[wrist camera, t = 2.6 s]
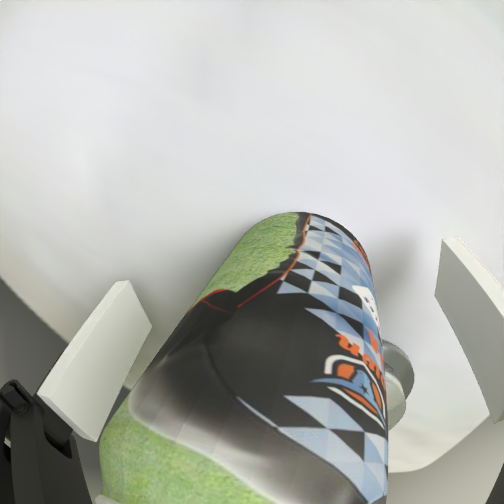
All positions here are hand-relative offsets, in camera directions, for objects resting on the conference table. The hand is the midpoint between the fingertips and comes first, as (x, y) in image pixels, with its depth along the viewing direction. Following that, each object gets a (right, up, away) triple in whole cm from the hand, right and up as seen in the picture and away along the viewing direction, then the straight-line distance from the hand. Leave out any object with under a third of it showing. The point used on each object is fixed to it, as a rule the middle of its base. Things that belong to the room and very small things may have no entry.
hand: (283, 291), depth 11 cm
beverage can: (0, +1, +2) cm, 2 cm away
